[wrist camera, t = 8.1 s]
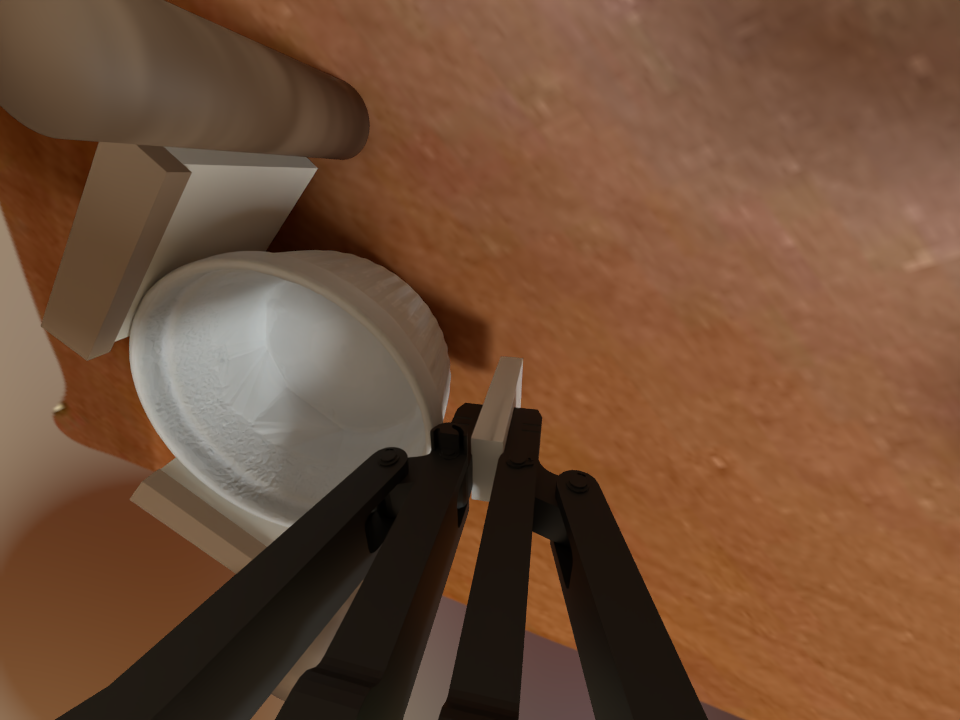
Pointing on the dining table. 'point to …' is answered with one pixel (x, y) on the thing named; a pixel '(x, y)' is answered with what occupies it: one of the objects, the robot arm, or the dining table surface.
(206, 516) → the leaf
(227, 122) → the gate posts
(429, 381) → the ramekin
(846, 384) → the dining table surface
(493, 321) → the dining table surface
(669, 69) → the dining table surface
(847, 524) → the dining table surface
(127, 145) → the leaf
